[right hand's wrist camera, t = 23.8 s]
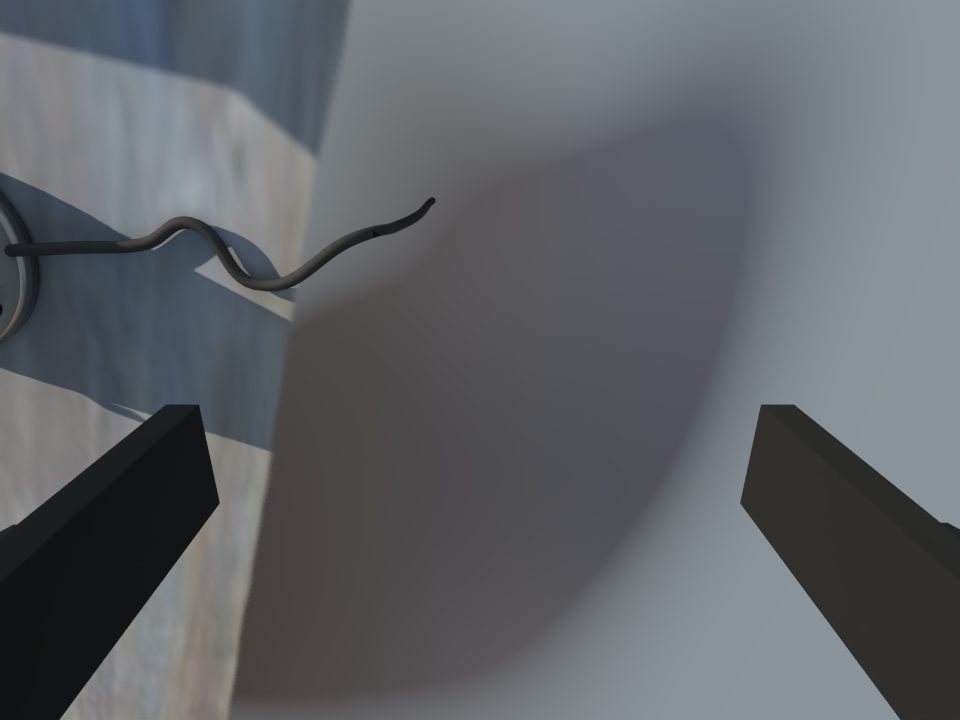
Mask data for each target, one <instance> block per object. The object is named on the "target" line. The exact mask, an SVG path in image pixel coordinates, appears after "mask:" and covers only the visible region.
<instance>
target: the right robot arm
mask: <svg viewBox="0 0 960 720" xmlns="http://www.w3.org/2000/svg"><path fill="white" fill-rule="evenodd" d="M435 202H436V199H435V198H434V197H431V198H429V199H428V200H427V201H426V202H425V203H424V204H423V205H422V206H421V208H420V209H418V210H417V211H416V212H414V213H412V214H410V215H408V216H406V217H404V218H402V219H399V220H397V221H394V222H392V223H388V224H382V225H375V226H371V227H367V228H364V229H361V230H358V231H355V232H352V233H350V234H348V235H346V236H344V237H342V238H340V239H338V240H337V241H335V242H333V243H332V244H330V245H329V246H327V247H326V248H325V249H323V250H322V251H321V252H319V253H318V254H317V255H316V256H314V257H313V258H312V259H311V260H310V261H308V262H307V263H306V264H304V265H303V266H302V267H300V268H299V269H298V270H296V271H295V272H293V273H291V274H289V275H287V276H285V277H282V278H279V279H274V280H262V279H256V278H253V277H250V276H249V275H247V274H246V273H245V272H243V271H242V270H241V268H240V267H239V266H238V265H237V263H236V262H235V260H234V259H233V257H232V255H231V254H230V252H229V250H228V249H227V247H226V245H225V244H224V242H223V241H222V239H221V238H220V237H219V235H218V234H217V233H216V232H215V231H214V230H213V229H212V228H211V227H210V226H209V225H207V224H206V223H204V222H203V221H200V220H197V219H195V218H192V217H186V216H184V217H176V218H173V219H171V220H169V221H167V222H166V223H165V224H163V225H162V226H161V227H160V228H159V229H157V230H156V231H155V232H153V233H152V234H150V235H149V236H146V237H143V238H139V239H134V240H126V241H72V242H52V243H31V240H30V237H29V235H28V233H27V231H26V228H25V226H24V225H23V223H22V221H21V219H20V217H19V216H18V214H17V213H16V211H15V210H14V208H13V207H12V205H11V204H10V203H9V202H8V200H7V199H6V198H5V196H4V195H3V194H2V193H1V192H0V341H2V340H4V339H6V338H8V337H9V336H11V335H12V334H13V333H15V332H16V331H17V330H18V329H19V328H20V327H21V326H22V325H23V324H24V323H25V321H26V320H27V318H28V317H29V315H30V313H31V311H32V309H33V307H34V304H35V301H36V297H37V292H38V279H39V278H38V266H37V260H36V256H43V255H63V254H84V253H130V252H138V251H144V250H148V249H151V248H154V247H156V246H158V245H159V244H161V243H162V242H164V241H165V240H166V239H168V238H169V237H170V236H171V235H172V234H174V233H175V232H177V231H179V230H181V229H191V230H194V231H196V232H198V233H199V234H201V235H202V236H203V237H204V238H205V239H206V240H207V241H208V242H209V244H210V245H211V246H212V248H213V249H214V251H215V253H216V254H217V256H218V257H219V259H220V261H221V262H222V264H223V266H224V267H225V268H226V270H227V271H228V273H229V274H230V275H231V276H232V277H233V278H234V279H235V280H236V281H237V282H238V283H240V284H242V285H243V286H245V287H247V288H250V289H253V290H260V291H279V290H284V289H287V288H290V287H293V286H295V285H297V284H298V283H300V282H302V281H304V280H305V279H306V278H308V277H309V276H311V275H312V274H313V273H315V272H316V271H317V270H318V269H320V268H321V267H322V266H323V265H325V264H326V263H327V262H328V261H330V260H331V259H332V258H334V257H335V256H337V255H338V254H339V253H341V252H343V251H344V250H346V249H348V248H350V247H352V246H354V245H356V244H358V243H361V242H363V241H366V240H369V239H372V238H375V237H379V236H384V235H389V234H393V233H396V232H398V231H401V230H403V229H405V228H407V227H409V226H411V225H413V224H414V223H416V222H418V221H419V220H420V219H421V218H423V217H424V215H425V214H426V213H427V212H428V210H429V209H430V207H431V206H432V205H433V204H434V203H435ZM740 503H741V505H742V506H743V508H744V509H745V510H746V512H747V513H748V514H749V516H750V517H751V518H752V520H753V521H754V522H755V524H756V525H757V526H758V528H759V529H760V531H761V532H762V533H763V535H764V536H765V537H766V539H767V540H768V541H769V543H770V544H771V545H772V547H773V548H774V549H775V551H776V552H777V553H778V555H779V556H780V558H781V559H782V560H783V562H784V563H785V564H786V566H787V567H788V568H789V570H790V571H791V572H792V574H793V575H794V576H795V578H796V579H797V581H798V582H799V583H800V585H801V586H802V587H803V589H804V590H805V591H806V593H807V594H808V595H809V597H810V598H811V599H812V601H813V602H814V603H815V605H816V606H817V608H818V609H819V610H820V612H821V613H822V614H823V616H824V617H825V618H826V620H827V621H828V622H829V624H830V625H831V626H832V628H833V629H834V630H835V632H836V633H837V635H838V636H839V637H840V639H841V640H842V641H843V643H844V644H845V645H846V647H847V648H848V649H849V651H850V652H851V653H852V655H853V656H854V658H855V659H856V660H857V662H858V663H859V664H860V666H861V667H862V668H863V670H864V671H865V672H866V674H867V675H868V676H869V678H870V679H871V680H872V682H873V683H874V685H875V686H876V687H877V689H878V690H879V691H880V693H881V694H882V695H883V697H884V698H885V699H886V701H887V702H888V703H889V705H890V706H891V707H892V709H893V710H894V711H895V713H896V714H897V716H898V717H899V718H900V720H960V529H958V528H956V527H954V526H952V525H950V524H949V523H940V522H939V521H938V520H936V519H935V518H934V517H933V516H931V515H930V514H929V513H928V512H927V511H925V510H924V509H923V508H922V507H920V506H919V505H918V504H917V503H915V502H914V501H913V500H912V499H910V498H909V497H908V496H907V495H905V494H904V493H903V492H902V491H900V490H899V489H898V488H897V487H896V486H894V485H893V484H892V483H891V482H889V481H888V480H887V479H886V478H884V477H883V476H882V475H881V474H879V473H878V472H877V471H876V470H874V469H873V468H872V467H871V466H869V465H868V464H867V463H866V462H864V461H863V460H862V459H861V458H860V457H858V456H857V455H856V454H855V453H853V452H852V451H851V450H850V449H848V448H847V447H846V446H845V445H843V444H842V443H841V442H840V441H838V440H837V439H836V438H835V437H833V436H832V435H831V434H830V433H829V432H827V431H826V430H825V429H824V428H822V427H821V426H820V425H819V424H817V423H816V422H815V421H814V420H812V419H811V418H810V417H809V416H807V415H806V414H805V413H804V412H802V411H801V410H800V409H799V408H797V407H796V406H795V405H761V408H760V413H759V417H758V422H757V427H756V431H755V436H754V441H753V446H752V450H751V455H750V460H749V464H748V469H747V474H746V479H745V483H744V488H743V493H742V498H741V502H740ZM219 504H220V502H219V497H218V493H217V488H216V483H215V479H214V474H213V469H212V464H211V460H210V455H209V450H208V446H207V441H206V436H205V431H204V427H203V422H202V417H201V413H200V408H199V405H165V406H164V407H163V408H161V409H160V410H159V411H158V412H156V413H155V414H154V415H153V416H151V417H150V418H149V419H148V420H146V421H145V422H144V423H143V424H141V425H140V426H139V427H138V428H136V429H135V430H134V431H133V432H131V433H130V434H129V435H128V436H127V437H125V438H124V439H123V440H122V441H120V442H119V443H118V444H117V445H115V446H114V447H113V448H112V449H110V450H109V451H108V452H107V453H105V454H104V455H103V456H102V457H100V458H99V459H98V460H97V461H96V462H94V463H93V464H92V465H91V466H89V467H88V468H87V469H86V470H84V471H83V472H82V473H81V474H79V475H78V476H77V477H76V478H74V479H73V480H72V481H71V482H69V483H68V484H67V485H66V486H64V487H63V488H62V489H61V490H60V491H58V492H57V493H56V494H55V495H53V496H52V497H51V498H50V499H48V500H47V501H46V502H45V503H43V504H42V505H41V506H40V507H38V508H37V509H36V510H35V511H33V512H32V513H31V514H30V515H29V516H27V517H26V518H25V519H24V520H22V521H21V522H20V523H19V524H17V525H12V526H10V527H8V528H6V529H4V530H3V531H1V532H0V720H60V718H61V717H62V716H63V714H64V713H65V712H66V710H67V709H68V708H69V706H70V705H71V703H72V702H73V701H74V699H75V698H76V697H77V695H78V694H79V693H80V691H81V690H82V689H83V687H84V686H85V685H86V683H87V682H88V681H89V679H90V678H91V676H92V675H93V674H94V672H95V671H96V670H97V668H98V667H99V666H100V664H101V663H102V662H103V660H104V659H105V658H106V656H107V655H108V653H109V652H110V651H111V649H112V648H113V647H114V645H115V644H116V643H117V641H118V640H119V639H120V637H121V636H122V635H123V633H124V632H125V631H126V629H127V628H128V626H129V625H130V624H131V622H132V621H133V620H134V618H135V617H136V616H137V614H138V613H139V612H140V610H141V609H142V608H143V606H144V605H145V604H146V602H147V601H148V599H149V598H150V597H151V595H152V594H153V593H154V591H155V590H156V589H157V587H158V586H159V585H160V583H161V582H162V581H163V579H164V578H165V576H166V575H167V574H168V572H169V571H170V570H171V568H172V567H173V566H174V564H175V563H176V562H177V560H178V559H179V558H180V556H181V555H182V554H183V552H184V551H185V549H186V548H187V547H188V545H189V544H190V543H191V541H192V540H193V539H194V537H195V536H196V535H197V533H198V532H199V531H200V529H201V528H202V526H203V525H204V524H205V522H206V521H207V520H208V518H209V517H210V516H211V514H212V513H213V512H214V510H215V509H216V508H217V506H218V505H219Z"/></svg>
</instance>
